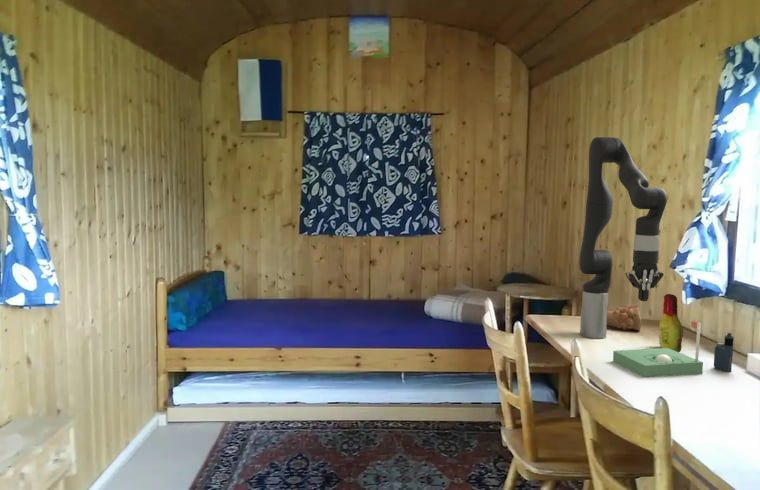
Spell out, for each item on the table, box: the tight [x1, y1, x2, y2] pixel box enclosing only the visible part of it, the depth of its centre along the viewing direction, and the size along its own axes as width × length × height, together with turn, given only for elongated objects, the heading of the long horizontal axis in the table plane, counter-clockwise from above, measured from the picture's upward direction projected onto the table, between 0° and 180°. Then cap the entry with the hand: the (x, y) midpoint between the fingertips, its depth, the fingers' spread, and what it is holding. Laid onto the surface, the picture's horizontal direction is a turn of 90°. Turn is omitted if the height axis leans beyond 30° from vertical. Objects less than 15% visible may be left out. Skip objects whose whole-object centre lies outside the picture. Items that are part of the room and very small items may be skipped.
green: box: [612, 320, 704, 378], centre depth 181 cm, size 16×20×16 cm
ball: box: [655, 354, 672, 362], centre depth 178 cm, size 5×5×5 cm
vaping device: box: [713, 332, 735, 373], centre depth 179 cm, size 3×5×12 cm, turn 28°
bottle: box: [658, 293, 684, 353], centre depth 200 cm, size 12×6×20 cm, turn 172°
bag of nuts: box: [607, 303, 642, 332], centre depth 233 cm, size 19×11×15 cm
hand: (643, 300), depth 189 cm, fingers closed
